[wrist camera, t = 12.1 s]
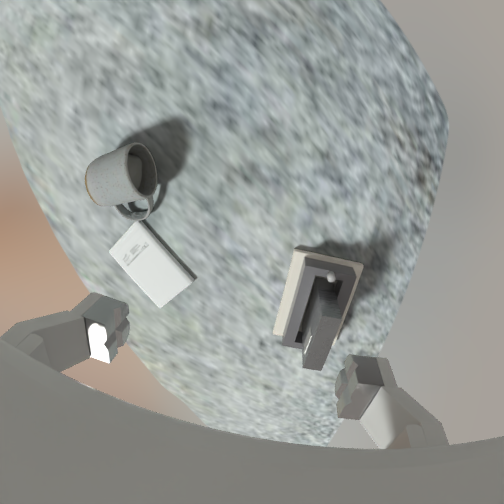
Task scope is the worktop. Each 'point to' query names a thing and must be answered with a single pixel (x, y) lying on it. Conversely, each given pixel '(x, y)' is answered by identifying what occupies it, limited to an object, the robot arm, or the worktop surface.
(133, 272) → the external hard drive
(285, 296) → the dock
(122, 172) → the ceramic mug
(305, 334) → the block
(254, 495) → the robot arm
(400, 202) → the worktop surface
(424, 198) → the worktop surface
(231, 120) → the worktop surface
